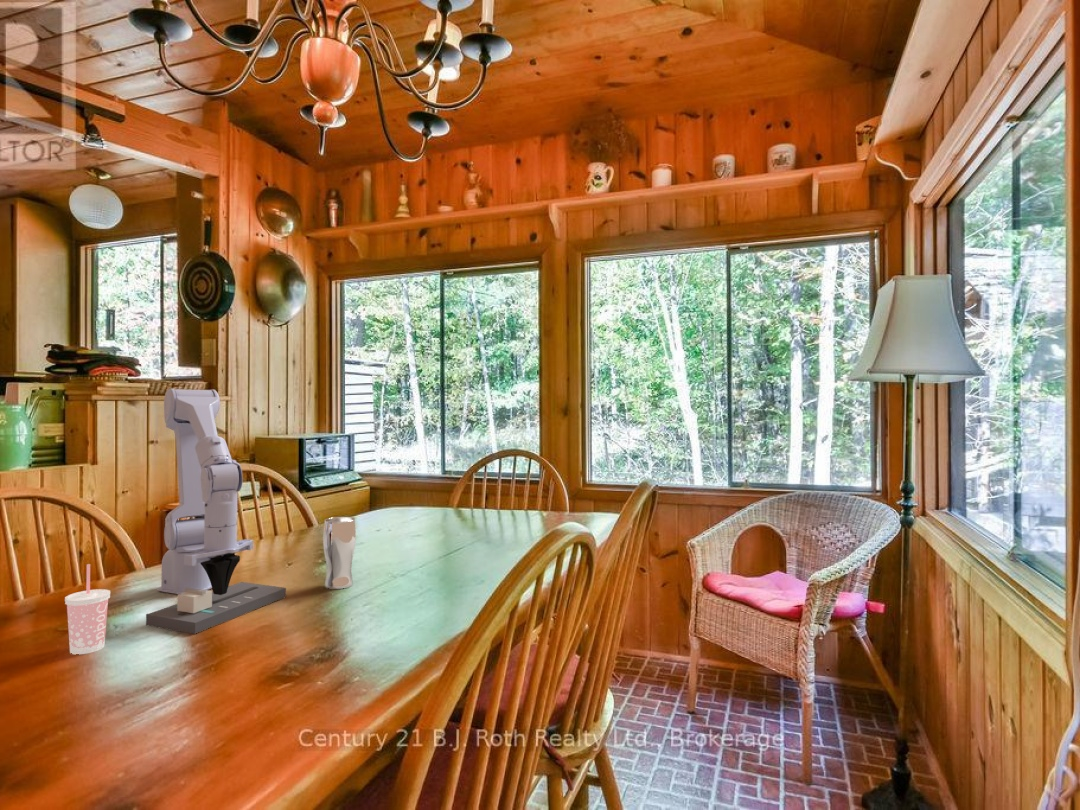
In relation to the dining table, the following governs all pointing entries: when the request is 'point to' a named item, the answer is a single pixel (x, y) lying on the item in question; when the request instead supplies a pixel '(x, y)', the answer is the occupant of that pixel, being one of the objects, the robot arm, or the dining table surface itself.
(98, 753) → the dining table surface
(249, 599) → the console
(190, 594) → the fader tab
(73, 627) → the beverage cup
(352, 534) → the beer glass
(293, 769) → the dining table surface
